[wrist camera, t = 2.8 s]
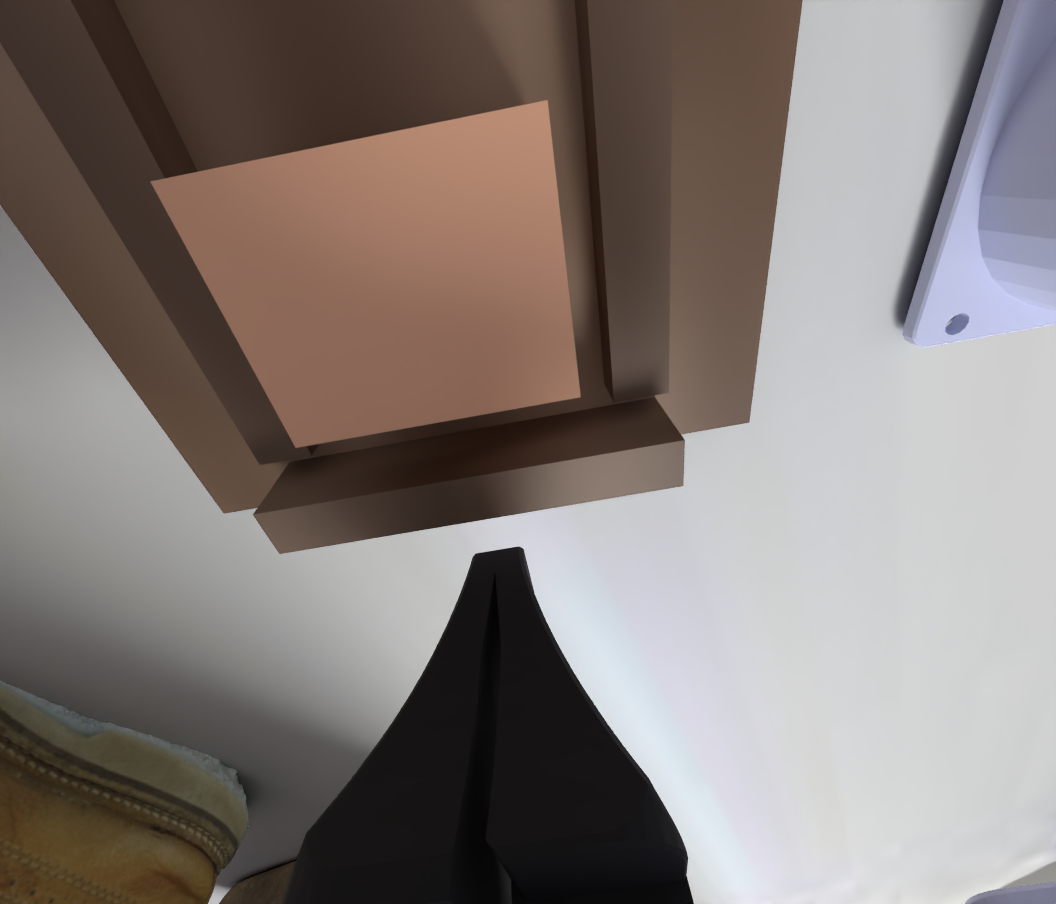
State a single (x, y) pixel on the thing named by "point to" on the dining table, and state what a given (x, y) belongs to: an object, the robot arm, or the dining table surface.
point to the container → (261, 887)
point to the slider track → (391, 105)
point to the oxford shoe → (108, 811)
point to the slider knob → (391, 273)
